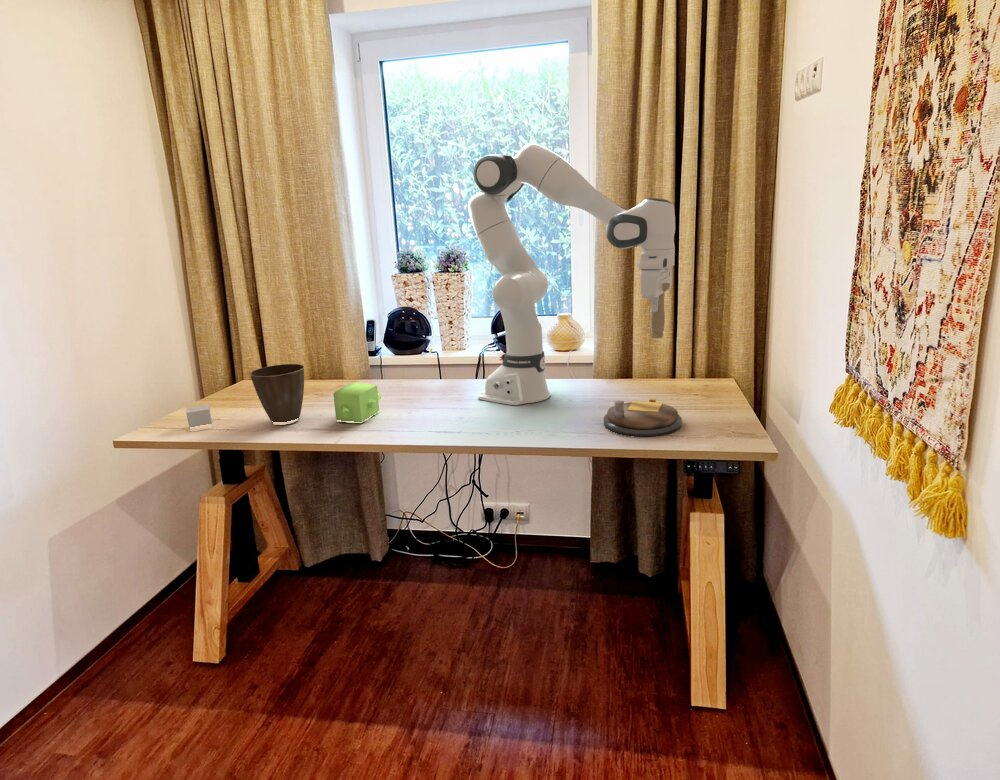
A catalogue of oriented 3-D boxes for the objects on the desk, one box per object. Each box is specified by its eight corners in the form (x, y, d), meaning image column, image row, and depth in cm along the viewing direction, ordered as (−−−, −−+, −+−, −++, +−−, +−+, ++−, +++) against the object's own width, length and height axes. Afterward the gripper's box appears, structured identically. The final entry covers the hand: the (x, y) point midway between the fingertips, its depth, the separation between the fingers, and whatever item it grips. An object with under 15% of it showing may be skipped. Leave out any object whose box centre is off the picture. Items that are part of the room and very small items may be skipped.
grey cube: (212, 423, 188) (208, 404, 187) (212, 428, 183) (208, 409, 181) (190, 426, 186) (186, 407, 184) (190, 432, 181) (186, 412, 179)
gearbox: (358, 432, 173) (354, 399, 170) (327, 428, 176) (323, 397, 174) (389, 410, 190) (386, 381, 187) (360, 408, 193) (358, 378, 190)
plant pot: (249, 424, 184) (240, 372, 180) (294, 411, 195) (286, 361, 190) (276, 433, 174) (266, 378, 170) (321, 419, 185) (314, 366, 181)
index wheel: (650, 403, 174) (650, 384, 173) (692, 420, 158) (693, 400, 157) (594, 414, 168) (594, 394, 167) (633, 433, 152) (632, 412, 150)
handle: (668, 339, 172) (669, 284, 168) (644, 338, 174) (645, 285, 170) (669, 335, 176) (670, 282, 172) (646, 335, 179) (647, 283, 175)
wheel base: (593, 432, 160) (593, 419, 159) (618, 407, 178) (618, 396, 177) (672, 441, 151) (672, 427, 150) (689, 414, 169) (690, 401, 168)
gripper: (655, 256, 180) (654, 304, 184) (636, 263, 162) (636, 316, 166) (677, 256, 177) (676, 304, 181) (660, 263, 159) (659, 316, 163)
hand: (657, 310), depth 173 cm, fingers closed on handle, 3 cm apart
